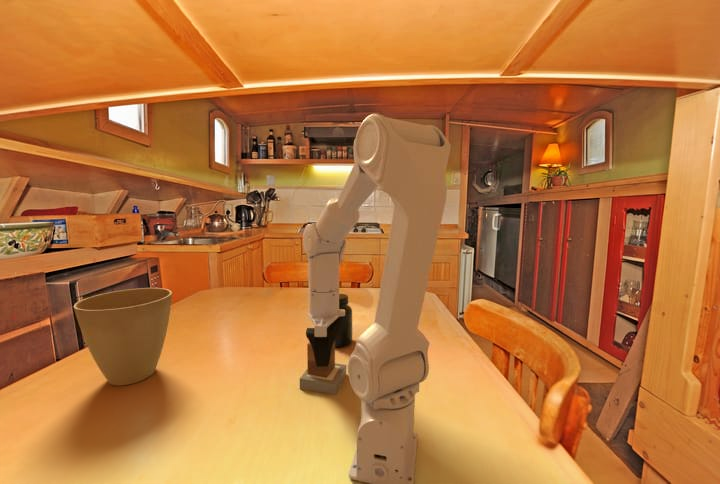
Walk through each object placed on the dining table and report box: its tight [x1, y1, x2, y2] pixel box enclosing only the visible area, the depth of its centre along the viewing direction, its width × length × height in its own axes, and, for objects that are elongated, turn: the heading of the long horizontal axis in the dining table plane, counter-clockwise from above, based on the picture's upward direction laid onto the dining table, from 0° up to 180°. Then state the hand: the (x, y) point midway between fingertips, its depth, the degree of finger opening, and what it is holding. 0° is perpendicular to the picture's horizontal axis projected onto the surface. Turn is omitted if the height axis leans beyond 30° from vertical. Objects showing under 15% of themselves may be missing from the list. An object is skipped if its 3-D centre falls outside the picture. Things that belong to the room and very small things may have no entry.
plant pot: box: [73, 287, 173, 387], centre depth 59 cm, size 15×15×16 cm
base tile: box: [299, 362, 347, 395], centre depth 59 cm, size 7×7×2 cm
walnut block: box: [306, 341, 336, 378], centre depth 58 cm, size 4×4×6 cm
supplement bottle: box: [334, 293, 353, 349], centre depth 75 cm, size 7×7×12 cm
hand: (324, 357), depth 58 cm, fingers open, 6 cm apart
